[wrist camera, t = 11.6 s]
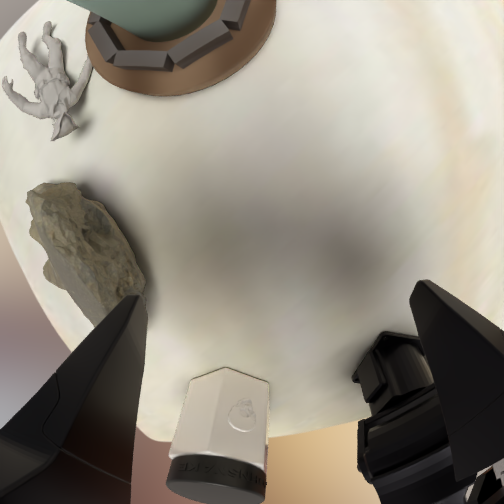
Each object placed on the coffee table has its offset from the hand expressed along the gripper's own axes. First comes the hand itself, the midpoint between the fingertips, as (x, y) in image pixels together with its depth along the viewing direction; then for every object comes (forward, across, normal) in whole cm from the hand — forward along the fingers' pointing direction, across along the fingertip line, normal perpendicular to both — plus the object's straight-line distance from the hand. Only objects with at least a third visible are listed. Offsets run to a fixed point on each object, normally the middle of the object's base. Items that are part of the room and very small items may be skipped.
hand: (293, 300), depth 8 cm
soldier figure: (+16, +15, -9) cm, 24 cm away
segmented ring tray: (+15, +5, -11) cm, 19 cm away
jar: (+8, +2, +22) cm, 23 cm away
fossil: (+13, +13, +6) cm, 19 cm away
